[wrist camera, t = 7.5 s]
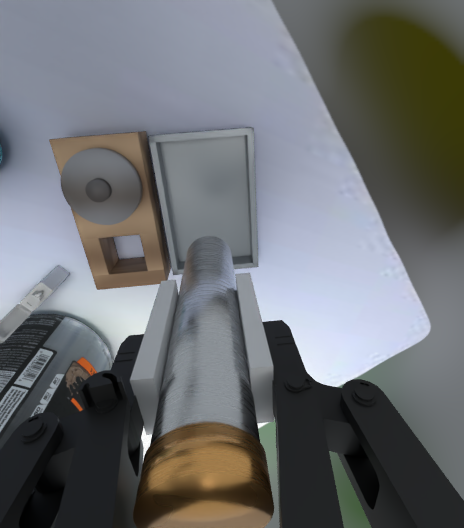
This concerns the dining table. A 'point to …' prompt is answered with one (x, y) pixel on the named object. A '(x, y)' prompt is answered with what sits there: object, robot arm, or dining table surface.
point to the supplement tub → (46, 368)
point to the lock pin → (205, 411)
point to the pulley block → (114, 205)
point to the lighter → (31, 302)
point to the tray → (207, 191)
